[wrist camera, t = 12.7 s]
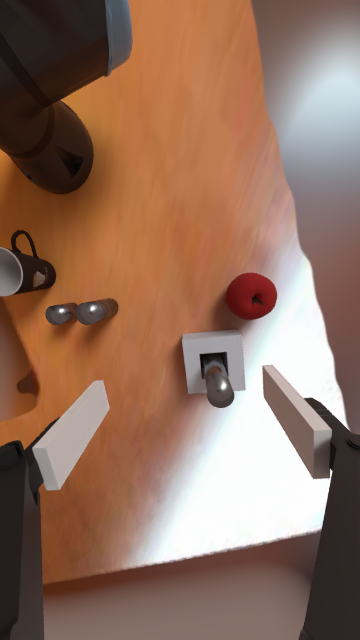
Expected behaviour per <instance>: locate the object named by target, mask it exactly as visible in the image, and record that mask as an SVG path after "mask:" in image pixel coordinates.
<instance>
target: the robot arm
mask: <svg viewBox="0 0 360 640" xmlns="http://www.w3.org/2000/svg"><path fill="white" fill-rule="evenodd" d="M132 43H133V37H132V24H131V16H130V8H129V2H128V0H0V149H1V150H2V151H4V152H5V153H7V155H8V156H9V157H10V158H11V159H12V161H13V162H14V163H15V164H16V165H17V167H18V168H19V169H20V170H21V171H22V172H23V174H24V175H25V176H26V177H27V178H28V179H29V180H30V181H32V182H33V183H34V184H36V185H37V186H39V187H41V188H42V189H44V190H46V191H48V192H51V193H56V194H64V193H69V192H71V191H74V190H75V189H77V188H78V187H80V186H81V185H82V184H83V183H84V181H85V180H86V179H87V177H88V175H89V173H90V170H91V167H92V163H93V146H92V141H91V138H90V135H89V133H88V131H87V129H86V127H85V126H84V124H83V123H82V121H81V120H80V118H79V117H78V116H77V114H76V113H75V112H74V111H73V110H72V109H71V108H70V107H69V106H68V105H66V104H65V103H64V102H62V101H60V100H61V99H63V98H64V97H66V96H68V95H70V94H72V93H73V92H75V91H77V90H79V89H81V88H82V87H84V86H86V85H88V84H90V83H91V82H93V81H95V80H97V79H98V78H100V77H102V76H105V77H107V76H109V74H110V73H111V71H112V70H114V69H116V68H117V67H119V66H120V65H122V64H123V63H125V62H126V61H127V60H128V58H129V56H130V53H131V50H132ZM262 367H263V390H264V398H265V400H266V401H267V403H268V405H269V406H270V408H271V410H272V411H273V413H274V415H275V416H276V418H277V420H278V421H279V423H280V425H281V426H282V428H283V430H284V431H285V433H286V435H287V436H288V438H289V440H290V441H291V443H292V444H293V446H294V448H295V449H296V451H297V453H298V454H299V456H300V458H301V459H302V461H303V463H304V464H305V466H306V468H307V469H308V471H309V473H310V474H311V476H312V478H313V479H323V478H330V468H331V470H332V471H333V472H332V477H331V482H330V488H329V493H328V499H327V504H326V509H325V515H324V520H323V526H322V531H321V537H320V542H319V547H318V553H317V558H316V563H315V569H314V574H313V580H312V586H311V591H310V596H309V602H308V607H307V612H306V618H305V622H304V626H303V629H302V630H301V633H300V636H299V640H360V435H357V434H353V433H351V432H350V431H349V430H348V429H347V428H346V427H345V426H344V425H343V424H342V423H341V422H340V421H339V420H338V419H337V418H336V417H335V416H334V415H332V413H331V412H330V411H329V410H327V408H326V407H325V406H324V405H323V404H321V403H320V402H319V401H317V400H315V399H313V398H302V396H301V395H300V394H299V393H298V392H297V391H296V390H295V389H294V388H293V387H292V386H291V384H290V383H289V382H288V381H287V380H286V379H285V378H284V377H283V376H282V375H281V374H280V372H279V371H278V370H277V369H276V368H275V367H274V366H273V365H265V366H262ZM109 409H110V408H109V404H108V400H107V395H106V391H105V387H104V382H103V380H100V381H94V382H93V383H92V384H91V385H90V386H89V387H88V388H87V389H86V391H85V392H84V393H83V394H82V395H81V396H80V397H79V398H78V399H77V400H76V401H75V402H74V404H73V405H72V406H71V407H70V408H69V409H68V410H67V411H66V412H65V413H64V414H63V415H62V416H61V417H59V418H57V419H56V420H54V421H53V422H52V423H50V424H49V425H48V426H47V427H46V429H45V430H44V431H43V432H42V433H41V434H40V436H38V437H37V438H36V439H35V440H34V441H33V442H32V443H31V444H30V445H29V446H28V447H27V448H26V449H25V450H24V448H23V445H22V443H21V441H18V440H17V441H12V442H9V443H7V444H5V445H3V446H1V447H0V640H44V615H43V581H42V548H41V514H40V493H39V490H38V489H39V487H40V486H41V484H42V483H43V482H44V485H45V488H46V490H60V488H61V487H62V485H63V484H64V482H65V480H66V479H67V477H68V476H69V474H70V472H71V471H72V469H73V467H74V466H75V464H76V463H77V461H78V459H79V458H80V456H81V454H82V453H83V451H84V450H85V448H86V446H87V445H88V443H89V441H90V440H91V438H92V437H93V435H94V433H95V432H96V430H97V428H98V427H99V425H100V424H101V422H102V420H103V419H104V417H105V416H106V414H107V412H108V411H109Z"/></svg>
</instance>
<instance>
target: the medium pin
mask: <svg viewBox="0 0 360 640" xmlns="http://www.w3.org/2000/svg"><path fill="white" fill-rule="evenodd" d="M117 312H118V304H117V302H116V301H115V300H114V299H111V298H108V299H102V300H97V301H92V302H86V303H82V304H80V305H79V306H78V307H77V308H76V317H77V319H78V321H79V322H80V323H82V324H84V325H90V324H93V323H96V322H98V321H100V320H103V319H105V318H108V317H110V316H113V315H115V314H116V313H117Z"/></svg>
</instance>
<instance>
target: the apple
mask: <svg viewBox="0 0 360 640" xmlns="http://www.w3.org/2000/svg"><path fill="white" fill-rule="evenodd" d="M276 300H277V291H276V288H275V286H274V284H273V283H272V282H271V281H270V280H269V279H268V278H266V277H264V276H262V275H260V274H257V273H245V274H241V275H240V276H238V277H237V278H235V279H234V280H233V281H232V282H231V284H230V285H229V287H228V289H227V293H226V302H227V305H228V307H229V308H230V310H231V311H232V312H233V313H234V314H235V315H237V316H238V317H240V318H242V319H246V320H253V319H258V318H261V317H263V316H265V315H266V314H268V313H269V312H271V311H272V309H273V308H274V306H275V304H276Z"/></svg>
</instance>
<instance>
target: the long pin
mask: <svg viewBox="0 0 360 640" xmlns="http://www.w3.org/2000/svg"><path fill="white" fill-rule="evenodd" d="M203 364H204V372H205V380H206V388H207V396H208V400H209V402H210V403H211V404H212V405H213V406H215V407H218V408H224V407H227V406H229V405H230V404H231V403H232V402H233V400H234V392H233V389H232V386H231V384H230V381H229V378H228V376H227V373H226V370H225V367H224V365H223V362H222V359H221V357H220V354H219V352H217V353H205V354H203Z"/></svg>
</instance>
